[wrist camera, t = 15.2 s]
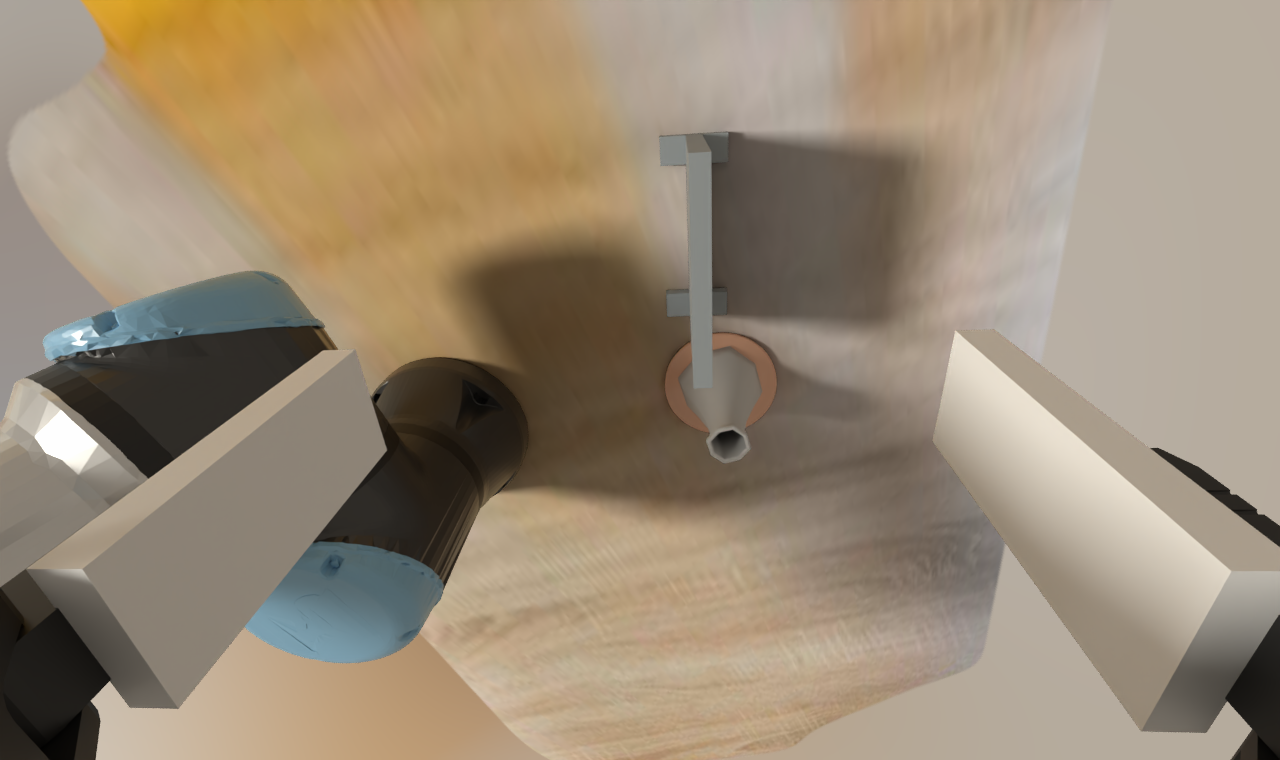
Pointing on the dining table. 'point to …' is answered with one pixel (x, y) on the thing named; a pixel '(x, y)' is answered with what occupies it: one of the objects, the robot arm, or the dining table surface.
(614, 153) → the dining table surface
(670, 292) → the screen
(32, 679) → the robot arm
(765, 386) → the coaster
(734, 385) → the flask
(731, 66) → the dining table surface
